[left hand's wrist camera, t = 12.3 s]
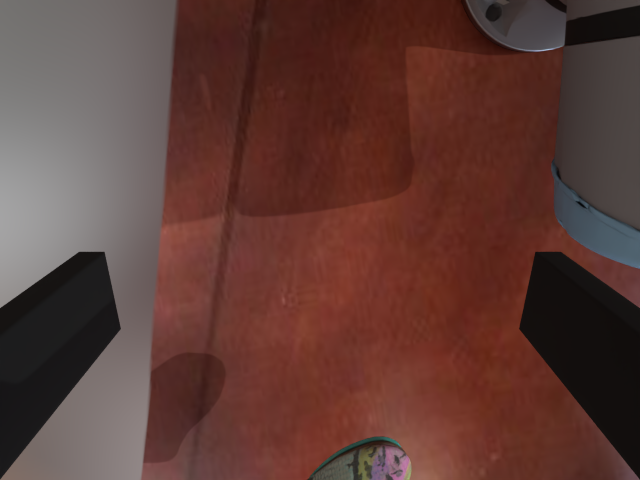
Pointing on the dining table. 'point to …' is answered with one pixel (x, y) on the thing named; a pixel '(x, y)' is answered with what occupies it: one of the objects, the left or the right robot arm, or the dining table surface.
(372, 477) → the ballet flat
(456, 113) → the dining table surface
